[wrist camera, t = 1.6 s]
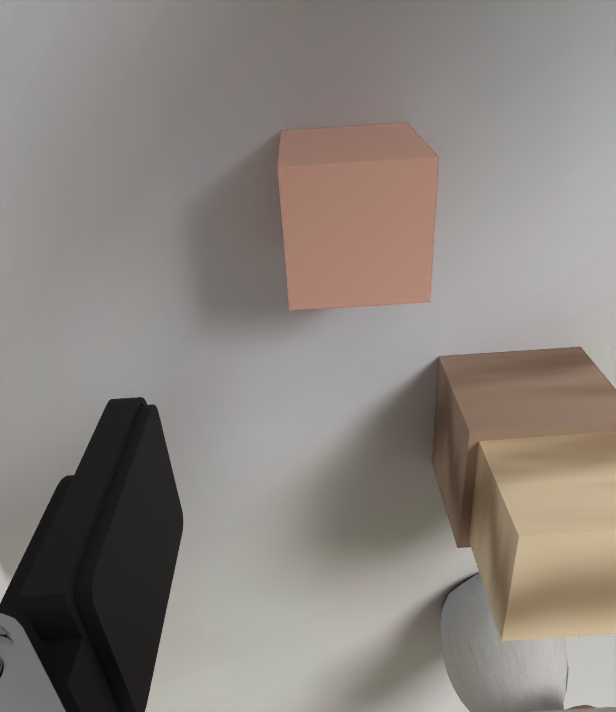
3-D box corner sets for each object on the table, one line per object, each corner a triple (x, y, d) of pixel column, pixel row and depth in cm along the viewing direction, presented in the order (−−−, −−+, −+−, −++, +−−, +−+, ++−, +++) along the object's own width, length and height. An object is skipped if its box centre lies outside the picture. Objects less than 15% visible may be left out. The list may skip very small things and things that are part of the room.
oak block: (479, 441, 24) (519, 536, 20) (625, 430, 24) (697, 524, 20) (469, 540, 27) (501, 640, 23) (598, 531, 27) (655, 631, 23)
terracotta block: (280, 130, 23) (277, 167, 18) (406, 121, 23) (438, 156, 18) (289, 248, 26) (289, 310, 21) (402, 241, 26) (430, 302, 21)
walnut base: (438, 355, 29) (469, 431, 24) (580, 346, 29) (642, 420, 24) (431, 461, 33) (457, 547, 27) (557, 453, 32) (606, 538, 27)
